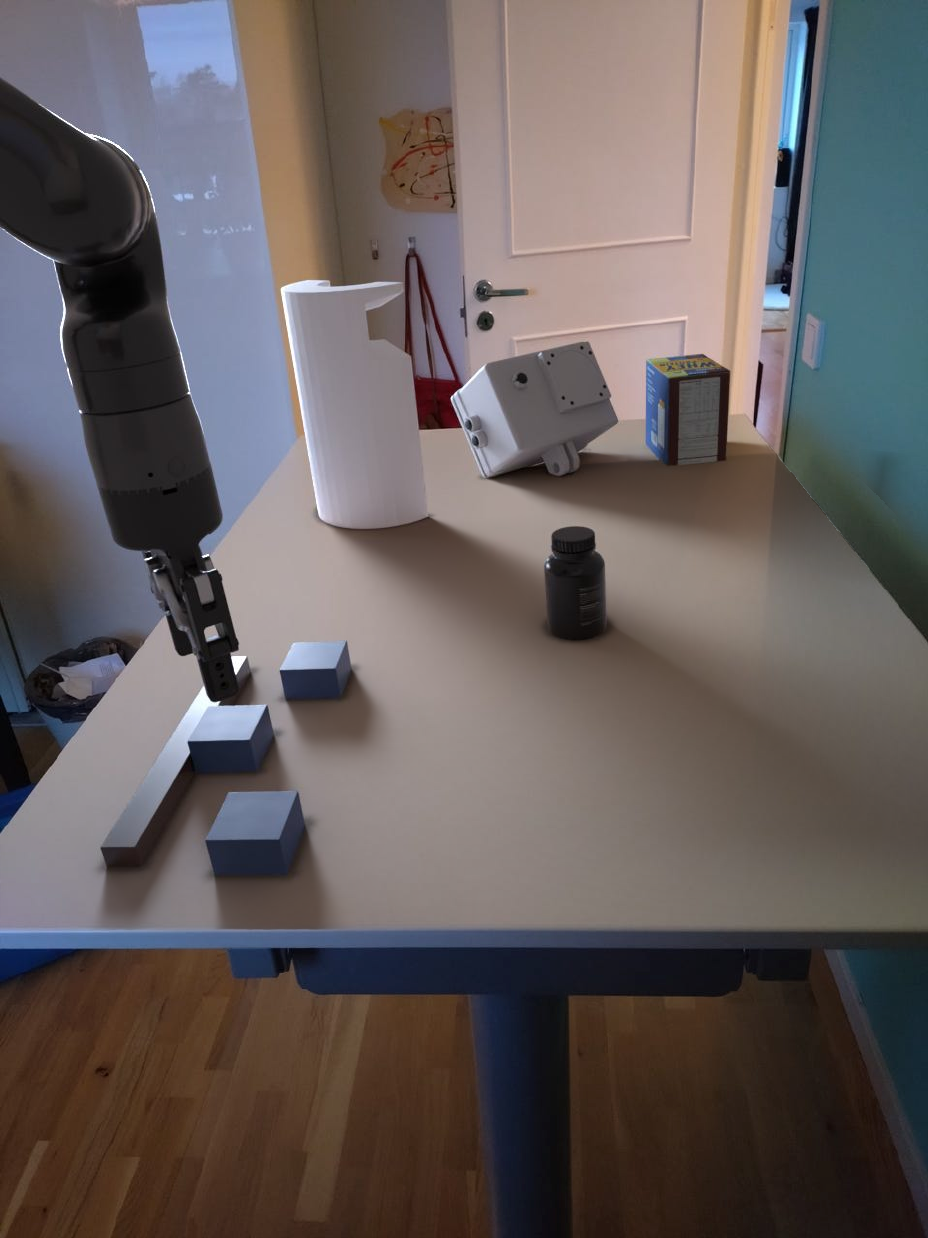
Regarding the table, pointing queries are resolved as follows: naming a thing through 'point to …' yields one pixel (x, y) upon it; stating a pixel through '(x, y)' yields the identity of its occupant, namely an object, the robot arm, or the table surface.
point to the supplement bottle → (575, 585)
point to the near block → (256, 833)
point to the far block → (316, 670)
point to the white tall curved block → (355, 406)
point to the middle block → (231, 739)
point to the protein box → (687, 409)
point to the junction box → (535, 410)
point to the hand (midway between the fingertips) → (207, 673)
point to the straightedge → (162, 786)
